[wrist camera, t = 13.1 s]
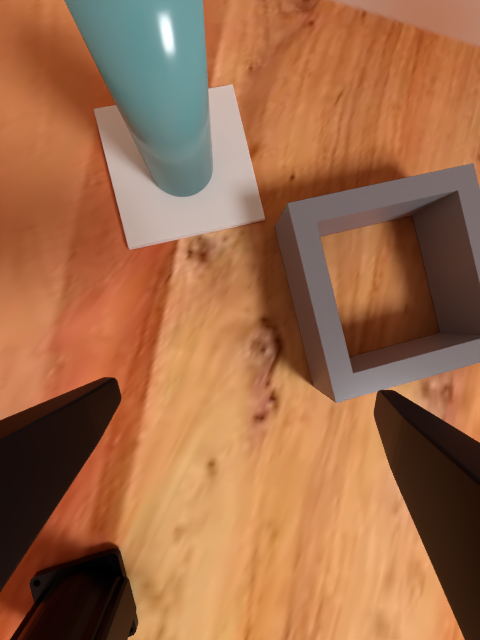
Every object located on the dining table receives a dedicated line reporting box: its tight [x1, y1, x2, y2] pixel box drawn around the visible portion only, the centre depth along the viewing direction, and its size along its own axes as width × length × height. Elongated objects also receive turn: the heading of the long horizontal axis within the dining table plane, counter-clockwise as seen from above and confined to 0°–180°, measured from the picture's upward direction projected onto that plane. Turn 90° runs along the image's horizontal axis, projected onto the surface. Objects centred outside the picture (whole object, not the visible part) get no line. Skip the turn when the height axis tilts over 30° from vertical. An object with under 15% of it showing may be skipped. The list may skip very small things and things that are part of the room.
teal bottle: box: [65, 0, 213, 197], centre depth 12 cm, size 5×5×13 cm
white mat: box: [94, 85, 265, 250], centre depth 19 cm, size 11×11×1 cm
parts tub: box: [275, 163, 480, 403], centre depth 18 cm, size 14×14×4 cm
